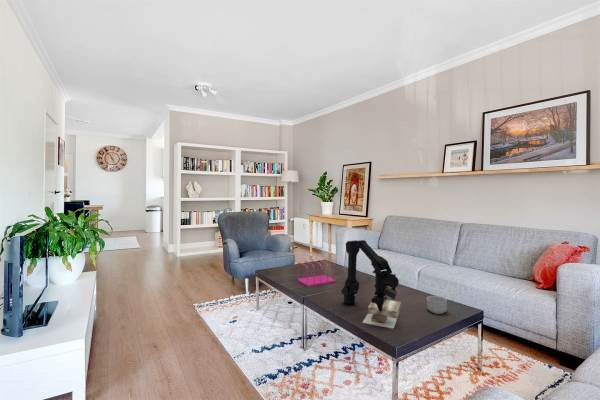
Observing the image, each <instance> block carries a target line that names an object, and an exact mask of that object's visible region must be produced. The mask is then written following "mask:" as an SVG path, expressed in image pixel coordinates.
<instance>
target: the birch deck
mask: <svg viewBox="0 0 600 400" xmlns="http://www.w3.org/2000/svg"><path fill="white" fill-rule="evenodd" d="M401 310H402V302H401V301H397V300H391V299H386V301H385V302H384V304H383V308H382V311H381V312H380V311H379V309H378V307H377V305H376V303H372V302H371V301H370V303H369V305H368V306H367V314H374V313H375V314H381V315H387V317H392V318H397V319H398V318H399V315H400V312H401Z"/></svg>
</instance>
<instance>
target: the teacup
mask: <svg viewBox="0 0 600 400" xmlns="http://www.w3.org/2000/svg"><path fill="white" fill-rule="evenodd" d="M447 301H448V299H447V298H446V297H444V296H443V295H429V296H427V297H426V307H427V309H428V311H430V312H431V313H432V314H437V315H441V314H444V313H446V311H447V309H448V302H447Z"/></svg>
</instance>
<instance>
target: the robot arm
mask: <svg viewBox="0 0 600 400" xmlns="http://www.w3.org/2000/svg"><path fill="white" fill-rule="evenodd" d="M360 250H361V251H362V252H363V254H364V255H365V256H366V257H367V258H368V259H369V260H370V263H371V266H372V267H373V269H374V270H373V271H372V273H373V274H375V275H374V276H375V277H374V279H375V280H374V282H375V284H374V288H375V289H374V290H375V292H374V295H373V296H372V298H371V301H370V303H371V302H372V303H376V305H377V307H378V309H379V311H380V312H381V311H382V308H383V304H384V302H385V301H386V300H388V297H389V298H391V299H392V300H395V299H396V296H397V295H398V290H397V287H398V286H399V282H400V281H399V278H398V277H397V275H396V274H395V273H393V271H392V268H391V267H390V265H389V262H388V260H387V259H385V257H383V256H380V255H378V254H377V253H376V251H375V250H374V249H373V248H372V247H371V246H370V245H369V244H368V242H367V241H366V240H365V239H362V240H356V239H355V240H347V241H346V242H345V251H346V253H347V255H348V258H347V278H346V279H345V281H344V286H343V288H342V289H341V294H342V295H343V302H342V304H343V305H345V306H351V307H353V306H355V304H356V303H357V297H356V295H357V294H358V291H359V289H360V281H358V280H357V256H358V255H359V252H360Z"/></svg>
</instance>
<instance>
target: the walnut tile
mask: <svg viewBox="0 0 600 400" xmlns="http://www.w3.org/2000/svg"><path fill="white" fill-rule="evenodd" d="M386 320H387V315H381V314H375V313H374V314H373V316H372V317H371V321H372V322H377V323H382V324H385V322H386Z"/></svg>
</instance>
